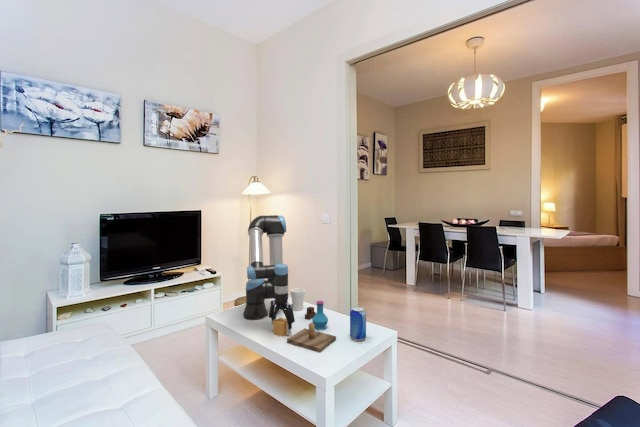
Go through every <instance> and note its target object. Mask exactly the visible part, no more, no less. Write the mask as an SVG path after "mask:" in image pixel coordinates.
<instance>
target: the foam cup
mask: <svg viewBox="0 0 640 427" xmlns="http://www.w3.org/2000/svg"><path fill="white" fill-rule="evenodd" d="M305 291H306V290H305V289H304V288H301V287H300V288H291V289H290V296H291V304H293V307H292V309H293V311H295V312H300V311H303V308H304V299H305Z"/></svg>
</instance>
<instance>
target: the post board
mask: <svg viewBox="0 0 640 427" xmlns="http://www.w3.org/2000/svg"><path fill="white" fill-rule="evenodd" d="M336 340H337V336H336V335H332V334H328V333H324V332H321V331H317V330H316V329H315V324H314V323H313V322H312V323H311V322H310V323H308V328H306V327H305V328H302V329H301V330H299V331H298V332H296V333H294V334H293V335H292V336H290V337H288V338H286V343H287V344H289V345H293V346H297V347H301V348H302V349H303V348H304V349H306V350H309V351H314V352H317V353H322V352H323V351H324V350H325V349H326V348H328V347H329V346H330V345H332V344H333V343H334V342H335V341H336Z"/></svg>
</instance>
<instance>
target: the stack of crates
mask: <svg viewBox="0 0 640 427" xmlns="http://www.w3.org/2000/svg"><path fill="white" fill-rule="evenodd" d="M316 313H317V312H316V311H315V307H314V306H308V307H306V313H305V314H304V319H305V320H308V321H310V320H312V318H313V317H314V316H315V314H316Z"/></svg>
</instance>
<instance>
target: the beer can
mask: <svg viewBox="0 0 640 427" xmlns="http://www.w3.org/2000/svg"><path fill="white" fill-rule="evenodd" d="M349 336H350V338H351V340H353V341H355V342H363V341H365V339H366V337H367V312H366V310H365V308H364V307H363V306H352V308H351V310H350V312H349Z"/></svg>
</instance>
